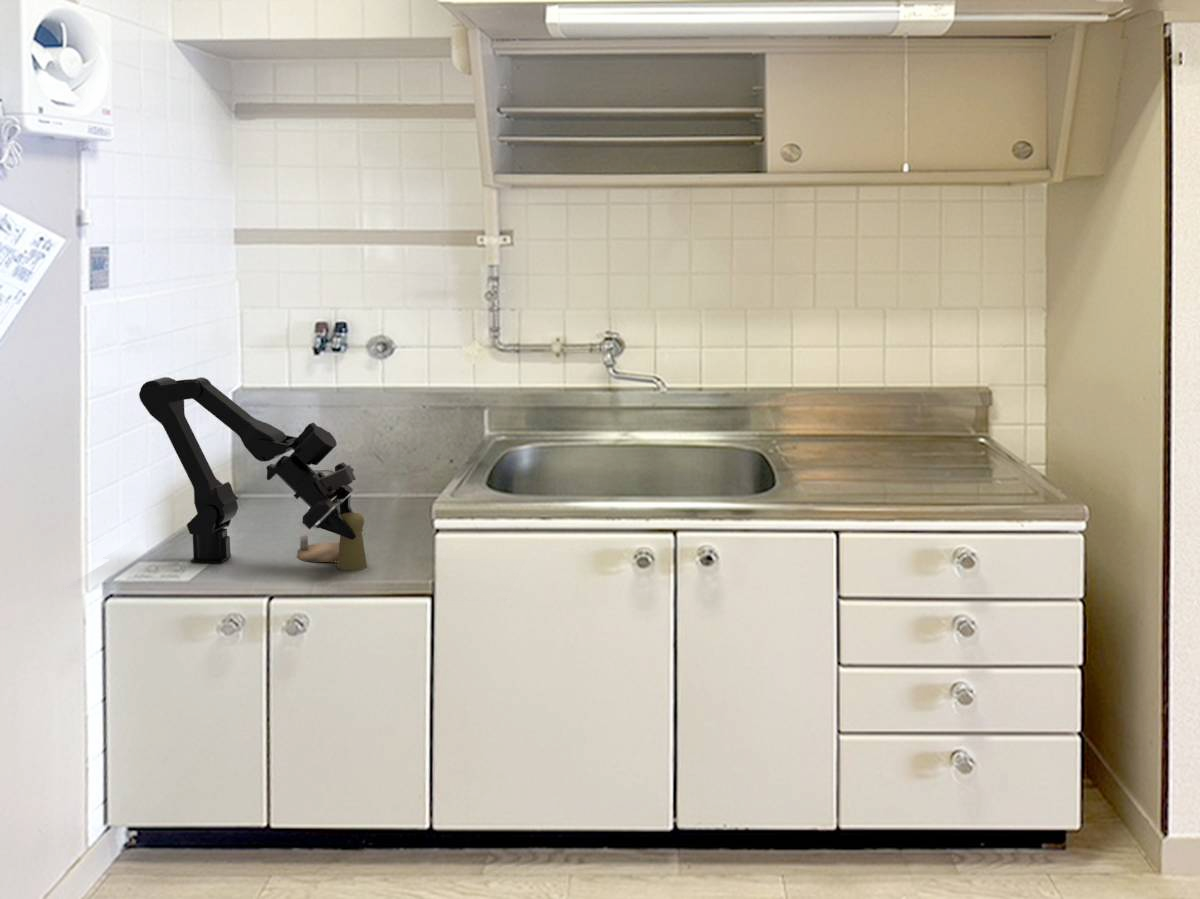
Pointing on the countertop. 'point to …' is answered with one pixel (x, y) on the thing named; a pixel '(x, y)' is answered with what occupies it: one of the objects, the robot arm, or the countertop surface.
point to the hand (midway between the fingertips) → (357, 534)
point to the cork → (352, 545)
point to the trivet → (317, 551)
